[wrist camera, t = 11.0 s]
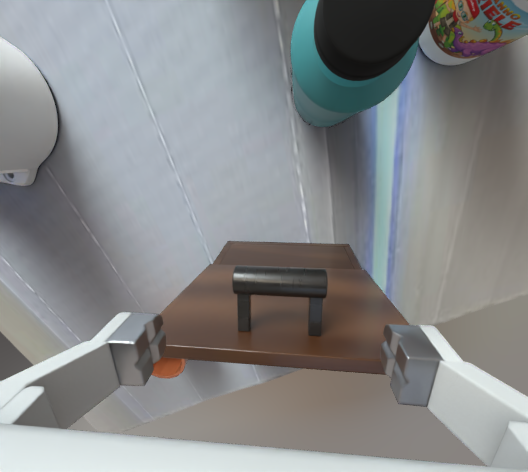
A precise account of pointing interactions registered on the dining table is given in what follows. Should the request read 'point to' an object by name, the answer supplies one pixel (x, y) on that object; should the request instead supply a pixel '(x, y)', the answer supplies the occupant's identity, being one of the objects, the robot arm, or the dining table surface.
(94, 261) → the dining table surface
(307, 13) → the beverage bottle
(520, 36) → the milk bottle
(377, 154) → the dining table surface
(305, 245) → the box
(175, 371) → the cup
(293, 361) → the lid
